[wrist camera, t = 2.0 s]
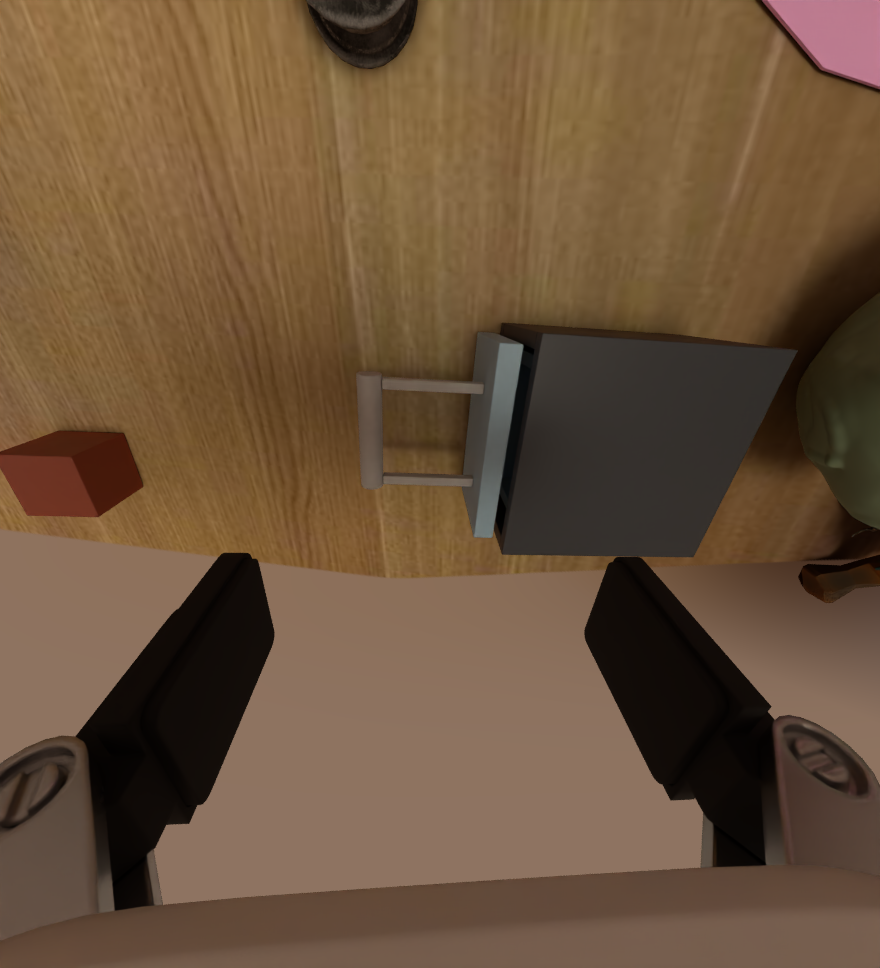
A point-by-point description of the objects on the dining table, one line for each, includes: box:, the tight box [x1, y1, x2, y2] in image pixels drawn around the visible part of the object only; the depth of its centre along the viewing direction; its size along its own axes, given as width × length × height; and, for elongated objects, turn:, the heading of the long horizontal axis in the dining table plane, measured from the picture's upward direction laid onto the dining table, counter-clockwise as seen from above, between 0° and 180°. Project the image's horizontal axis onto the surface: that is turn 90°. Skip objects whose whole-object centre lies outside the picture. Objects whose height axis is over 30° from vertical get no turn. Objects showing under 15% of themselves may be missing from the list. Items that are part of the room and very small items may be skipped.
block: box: [0, 431, 143, 517], centre depth 24 cm, size 4×4×4 cm
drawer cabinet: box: [494, 323, 797, 557], centre depth 23 cm, size 13×13×9 cm
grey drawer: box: [356, 332, 535, 538], centre depth 22 cm, size 19×11×7 cm, turn 86°
